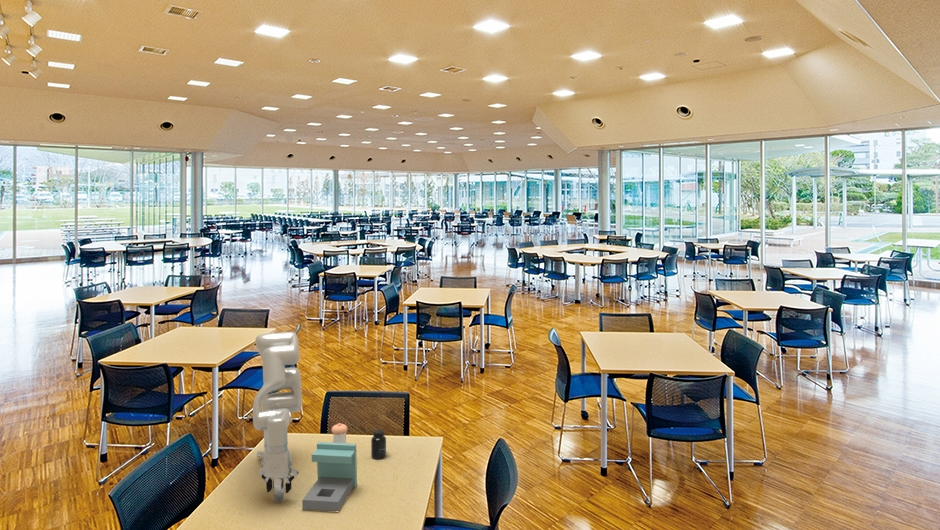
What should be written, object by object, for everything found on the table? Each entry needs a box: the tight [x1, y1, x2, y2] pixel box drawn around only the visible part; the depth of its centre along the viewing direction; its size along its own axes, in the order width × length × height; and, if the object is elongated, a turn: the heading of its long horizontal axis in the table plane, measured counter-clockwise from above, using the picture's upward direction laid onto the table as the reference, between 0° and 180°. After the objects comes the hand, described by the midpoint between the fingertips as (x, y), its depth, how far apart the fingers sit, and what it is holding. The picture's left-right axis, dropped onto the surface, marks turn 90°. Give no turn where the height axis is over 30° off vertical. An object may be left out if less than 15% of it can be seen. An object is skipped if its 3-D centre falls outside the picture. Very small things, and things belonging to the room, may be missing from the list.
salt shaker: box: [331, 422, 348, 443], centre depth 239 cm, size 7×7×19 cm
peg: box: [272, 478, 286, 504], centre depth 210 cm, size 4×4×12 cm
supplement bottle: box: [370, 429, 387, 460], centre depth 248 cm, size 7×7×12 cm
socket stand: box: [301, 441, 358, 512], centre depth 212 cm, size 16×20×18 cm
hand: (278, 490), depth 210 cm, fingers open, 6 cm apart
